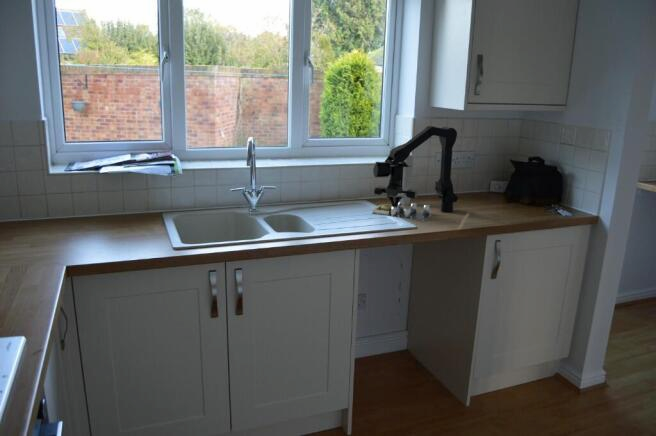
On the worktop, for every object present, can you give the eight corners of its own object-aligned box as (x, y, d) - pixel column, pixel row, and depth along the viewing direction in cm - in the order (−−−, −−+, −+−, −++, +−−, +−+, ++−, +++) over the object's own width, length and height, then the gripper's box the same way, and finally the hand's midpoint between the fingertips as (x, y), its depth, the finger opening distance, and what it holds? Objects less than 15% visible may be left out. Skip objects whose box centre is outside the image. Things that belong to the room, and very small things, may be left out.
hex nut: (379, 212, 238) (380, 206, 237) (383, 209, 243) (383, 203, 242) (390, 213, 237) (390, 207, 236) (393, 211, 242) (393, 204, 241)
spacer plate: (379, 209, 248) (380, 199, 247) (432, 216, 239) (433, 205, 238) (371, 215, 236) (371, 205, 235) (426, 222, 227) (427, 211, 226)
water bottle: (413, 206, 256) (417, 155, 250) (399, 207, 253) (402, 155, 247) (404, 202, 264) (407, 152, 258) (390, 202, 262) (393, 153, 255)
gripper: (371, 177, 230) (369, 212, 234) (413, 181, 224) (410, 217, 228) (378, 173, 240) (376, 206, 244) (418, 177, 234) (416, 211, 238)
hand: (394, 210), depth 238 cm, fingers closed
